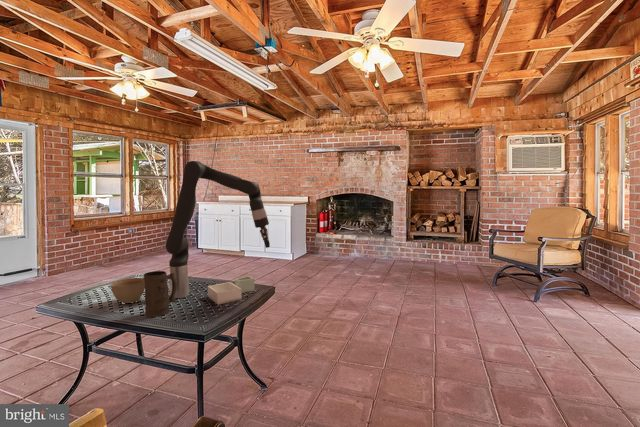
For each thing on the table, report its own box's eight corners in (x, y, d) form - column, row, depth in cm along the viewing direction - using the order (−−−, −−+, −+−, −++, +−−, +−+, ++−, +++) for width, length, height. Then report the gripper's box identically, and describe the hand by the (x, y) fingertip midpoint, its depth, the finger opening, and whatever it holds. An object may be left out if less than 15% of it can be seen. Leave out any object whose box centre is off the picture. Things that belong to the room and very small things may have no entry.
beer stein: (152, 319, 160) (152, 275, 159) (138, 315, 165) (138, 273, 165) (181, 310, 173) (181, 270, 172) (168, 307, 178) (168, 268, 178)
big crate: (218, 304, 177) (217, 293, 176) (208, 296, 190) (207, 286, 190) (241, 299, 184) (241, 288, 183) (230, 292, 197) (230, 281, 197)
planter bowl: (133, 295, 196) (132, 276, 195) (153, 298, 189) (152, 279, 188) (105, 304, 182) (103, 284, 181) (125, 308, 175) (124, 287, 174)
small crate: (239, 293, 195) (239, 281, 194) (235, 290, 200) (234, 278, 199) (254, 290, 200) (254, 278, 199) (250, 287, 205) (249, 276, 204)
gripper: (253, 218, 196) (261, 246, 198) (252, 220, 182) (260, 250, 184) (266, 215, 197) (274, 242, 199) (266, 216, 183) (274, 246, 185)
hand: (267, 246), depth 191 cm, fingers open, 8 cm apart
